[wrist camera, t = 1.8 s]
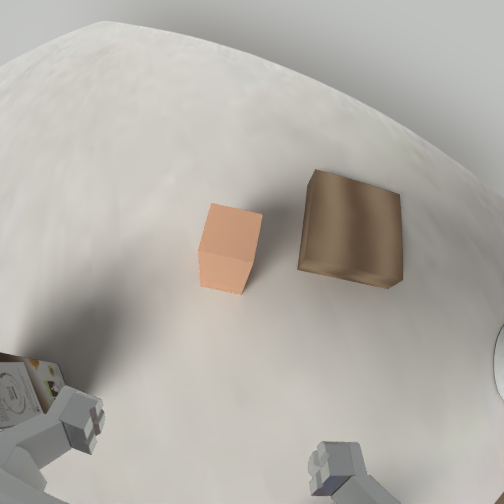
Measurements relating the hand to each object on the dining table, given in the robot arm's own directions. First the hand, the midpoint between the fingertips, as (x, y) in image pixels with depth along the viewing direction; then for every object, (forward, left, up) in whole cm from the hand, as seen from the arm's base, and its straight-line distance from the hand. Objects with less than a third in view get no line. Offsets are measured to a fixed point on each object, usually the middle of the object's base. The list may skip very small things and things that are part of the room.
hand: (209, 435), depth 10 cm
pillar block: (+1, -14, -22) cm, 26 cm away
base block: (-13, -22, -22) cm, 34 cm away
